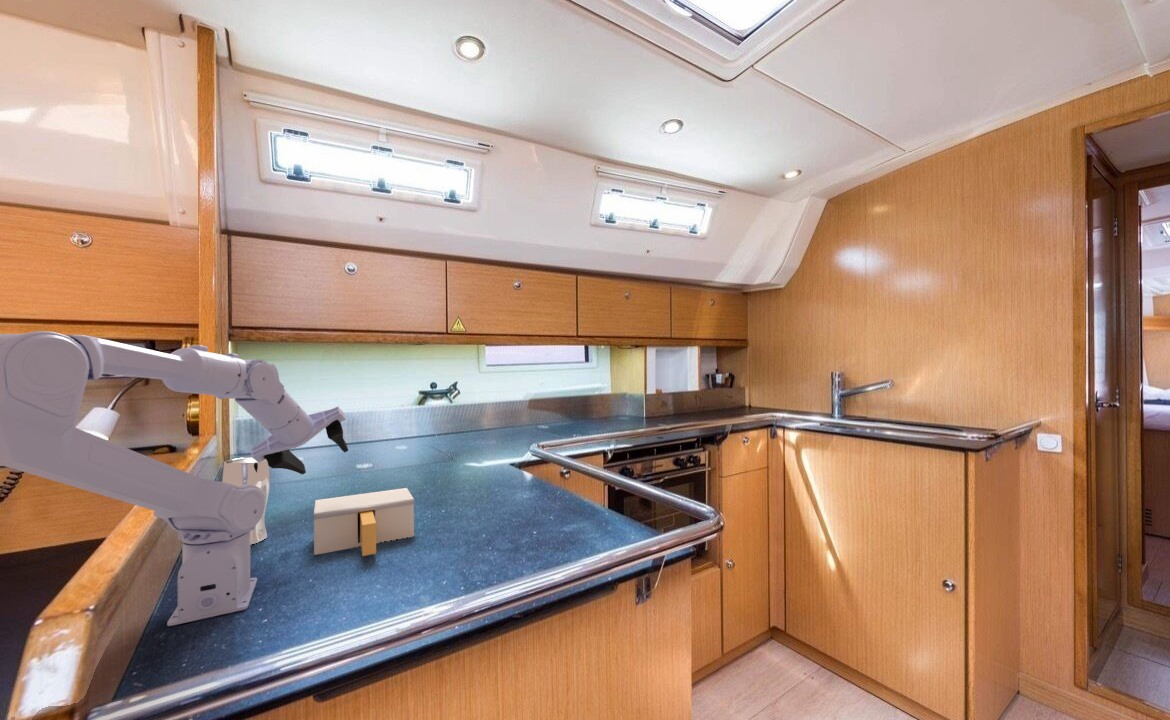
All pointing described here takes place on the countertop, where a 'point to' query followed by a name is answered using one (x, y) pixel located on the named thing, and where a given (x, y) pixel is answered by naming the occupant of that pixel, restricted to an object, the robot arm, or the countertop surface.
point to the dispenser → (341, 519)
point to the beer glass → (250, 474)
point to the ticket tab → (367, 532)
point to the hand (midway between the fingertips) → (324, 458)
